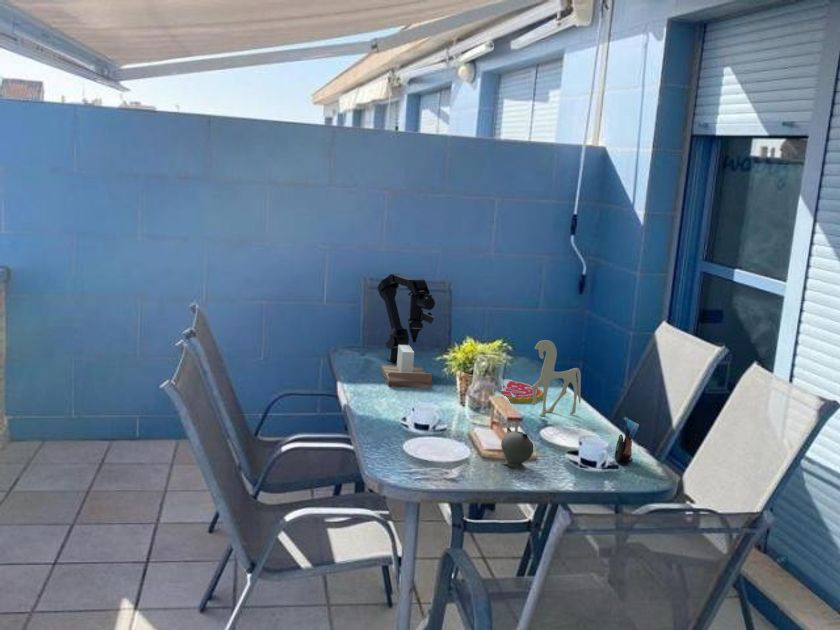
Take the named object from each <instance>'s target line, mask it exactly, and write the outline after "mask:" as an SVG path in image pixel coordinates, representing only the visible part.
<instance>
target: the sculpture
mask: <svg viewBox="0 0 840 630" xmlns="http://www.w3.org/2000/svg"><path fill="white" fill-rule="evenodd" d="M534 350H538V355H539V358H540V359H541V360H543V359H544V360H543V363H542V367H541V371H540V372H541V373H540V377H539V379H538V380H537V382H535V383H534V384H533V385H532V391H533V402H531V403H532V406H535V405H537V404H538V401H537V397H536V388H540V387H541V386H542V388H543V390H542V391H543V397H542V407H543V408H542V412H541V413H540V414H539V416H540V417H545V416H546V414H547V413H552V412H553V411H554V410H555V407H556V405H557V404H558V402H559V401H560V400H561V399H562V397H564V396H565V395H566V394H567V390H568V387H569V385H570V383H571V384H572V387H573V404H572V409H571V410H570V412H569V414H570V415H574V414H575V413H576V408H577V407H576V406H577V398H578V404H581V402H582V401H581V400H582V399H581V387H582V385H581V383H582V381H581V380H582V373H581V369H580V368H578V367H574V368H571V369H569V370H568V369H567V370H564V371H555V366H556V361H557V357H558V353H557V351H558V350H557V347H556V345H555V343H554V342H553V341H551V340H548V339H544V340H543V339H542V340H540V341H538V342H537V343H536V345H535V347H534ZM544 352H545V356H544ZM554 379H555V380H556V379H562V380H563V385H562V389H561V391H560V393H559V394H558V395H559V396H558V397H557V398H556V400H555V401H554V402H553V403H552V405H551V406H550V407H549V408H548V409H547V408H546V404H547V403H546V400H547V396H548V395H547V394H548V389H549V385H550V382H551V381H553V380H554Z"/></svg>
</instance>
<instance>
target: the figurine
mask: <svg viewBox="0 0 840 630" xmlns="http://www.w3.org/2000/svg"><path fill="white" fill-rule="evenodd" d="M623 420H624V421H625V422H624V428H623V429H624V430H623V431H624V437H623V434H622V433H620V434H619V435H618V439H617V441H616V446H615V453H614V461H615V460H616V461H615V463H616V462H617V463H618V464H617V463H616V464H617V465H618V466H620V467H621V466H623V467H626V466H628V464H629V463H631V462H633V460H634V458H633V457H632V444H633V440H634V439H635V437H636V436H637V434H638V432H639V430H641V427H640V424H639V423H637V422H634V421H632V420H631V419H629V417H627V416H625V417H623Z"/></svg>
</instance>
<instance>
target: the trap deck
mask: <svg viewBox="0 0 840 630" xmlns="http://www.w3.org/2000/svg"><path fill="white" fill-rule="evenodd" d="M380 370H381V372H382V375H383V378H384V377H385V378H384V380H385V382H386V384H387V386H388V387H393V386H396V388H397V387H398V388H422V389H423V388H425V389H427V388H428V389H431V388H432V382H433V381H432V380H433V373H429V372H426V371H425V370H424V368H423V367H422V366H417V365H416V366H415V365H413V373H408V372H399V370H398V368H397V365H392V364H391V365H389V364H381V369H380Z"/></svg>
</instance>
